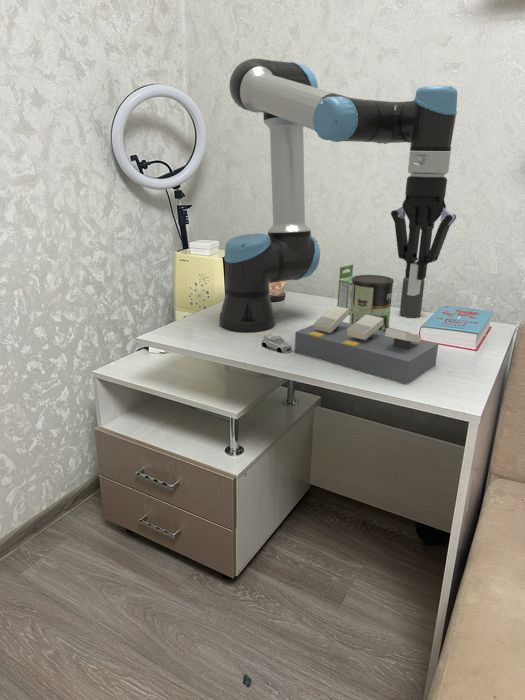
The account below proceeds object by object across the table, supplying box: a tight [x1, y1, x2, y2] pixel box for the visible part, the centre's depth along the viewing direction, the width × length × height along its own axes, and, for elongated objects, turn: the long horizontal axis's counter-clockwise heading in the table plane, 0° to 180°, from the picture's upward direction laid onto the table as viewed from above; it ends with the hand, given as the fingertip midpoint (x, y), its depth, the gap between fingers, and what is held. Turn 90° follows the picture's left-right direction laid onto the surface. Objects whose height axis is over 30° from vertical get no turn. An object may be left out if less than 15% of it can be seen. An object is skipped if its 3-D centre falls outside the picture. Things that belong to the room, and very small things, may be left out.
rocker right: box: [385, 327, 422, 343], centre depth 111 cm, size 4×8×2 cm, turn 139°
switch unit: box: [294, 321, 439, 386], centre depth 118 cm, size 28×14×6 cm, turn 49°
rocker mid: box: [347, 315, 384, 340], centre depth 116 cm, size 4×8×2 cm, turn 139°
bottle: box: [399, 270, 425, 319], centre depth 150 cm, size 6×6×15 cm
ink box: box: [336, 264, 355, 315], centre depth 153 cm, size 7×4×13 cm, turn 136°
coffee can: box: [349, 274, 395, 332], centre depth 135 cm, size 10×10×14 cm
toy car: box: [261, 333, 293, 354], centre depth 124 cm, size 4×8×3 cm, turn 45°
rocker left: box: [312, 305, 350, 333], centre depth 122 cm, size 4×8×2 cm, turn 139°
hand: (413, 294), depth 110 cm, fingers closed
